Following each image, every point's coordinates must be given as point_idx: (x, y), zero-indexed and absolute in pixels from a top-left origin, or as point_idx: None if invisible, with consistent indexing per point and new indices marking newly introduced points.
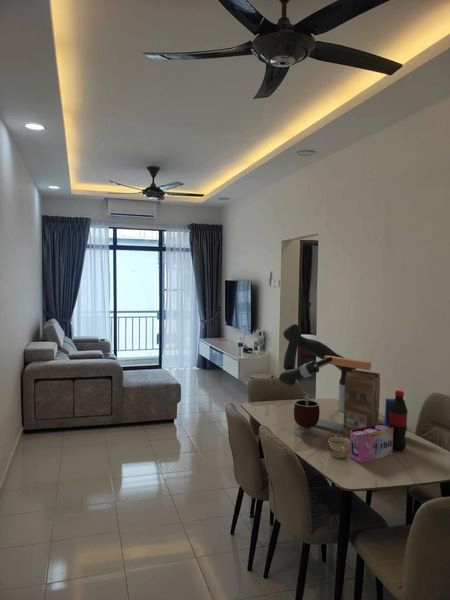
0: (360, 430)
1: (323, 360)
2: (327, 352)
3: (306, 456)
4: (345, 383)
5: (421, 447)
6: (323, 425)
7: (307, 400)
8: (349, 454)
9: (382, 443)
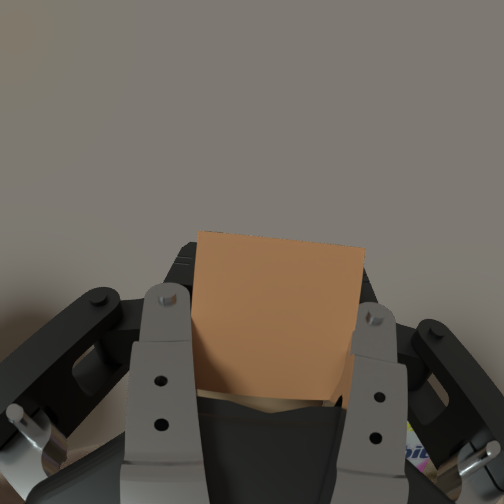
0: (408, 426)
1: (390, 334)
2: None
3: (500, 499)
4: (322, 402)
5: None
6: None
7: None
8: (424, 467)
9: None
